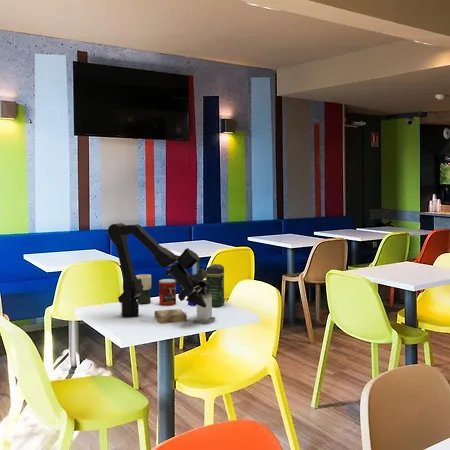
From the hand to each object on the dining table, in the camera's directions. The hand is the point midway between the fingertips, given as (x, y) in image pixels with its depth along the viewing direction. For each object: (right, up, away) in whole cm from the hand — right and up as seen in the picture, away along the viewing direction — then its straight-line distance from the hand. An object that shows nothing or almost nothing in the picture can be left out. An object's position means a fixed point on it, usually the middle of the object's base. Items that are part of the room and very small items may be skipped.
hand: (207, 305), depth 217 cm
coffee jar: (+3, -4, +31) cm, 31 cm away
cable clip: (-6, -4, +35) cm, 36 cm away
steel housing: (-1, -7, +1) cm, 7 cm away
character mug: (-31, -4, +36) cm, 48 cm away
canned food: (-20, -4, +34) cm, 39 cm away
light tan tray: (-15, -6, +6) cm, 18 cm away
